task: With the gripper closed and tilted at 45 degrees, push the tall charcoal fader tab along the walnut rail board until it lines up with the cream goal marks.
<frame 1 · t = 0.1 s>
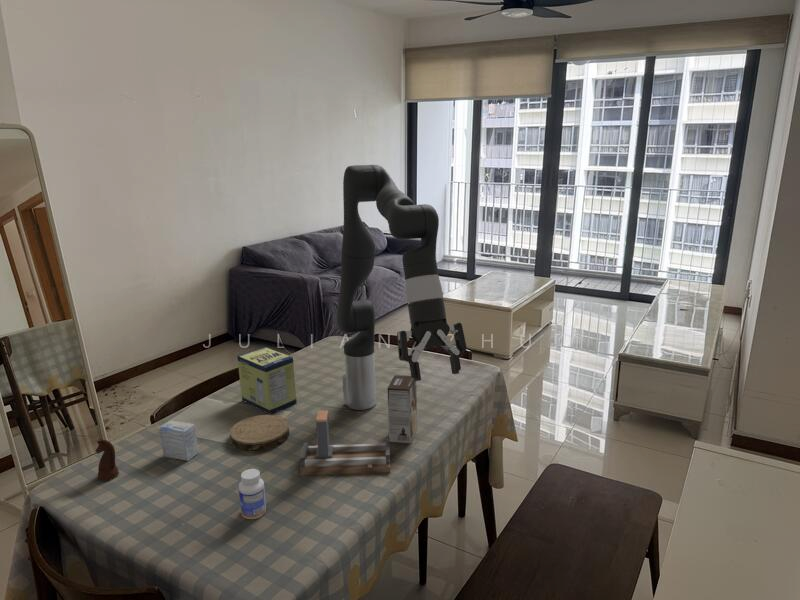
hand: (436, 377, 114), 31 cm above the table, tool tilted 20°, fingers open, 8 cm apart
coffee box: (403, 435, 154), on the table
chess piece: (109, 476, 137), on the table
protein box: (269, 402, 176), on the table
pill bottle: (254, 513, 123), on the table
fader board: (346, 462, 141), on the table
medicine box: (181, 456, 146), on the table
fader tab: (323, 436, 139), point 8 cm above the table, slide at -5.5 cm
brown round disc: (260, 438, 155), on the table
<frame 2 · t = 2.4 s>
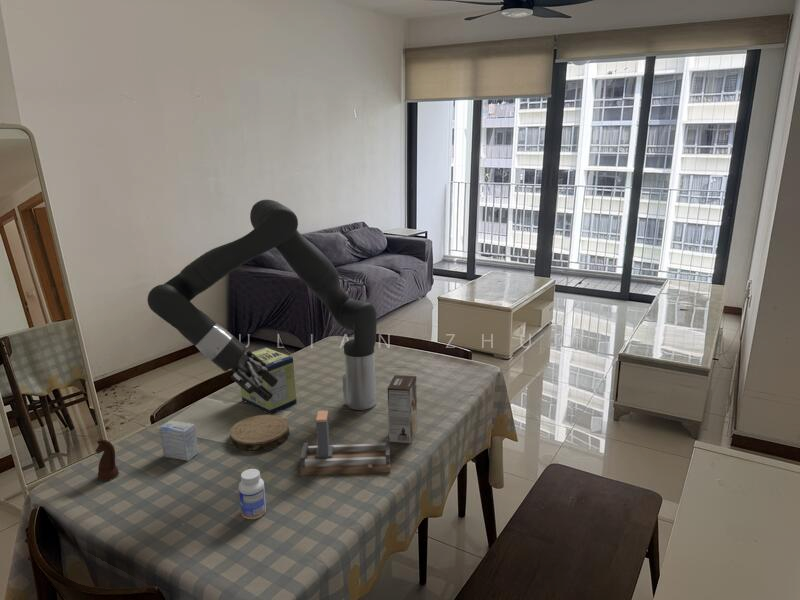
hand: (273, 390, 135), 21 cm above the table, tool tilted 45°, fingers open, 8 cm apart
nothing on the table moved.
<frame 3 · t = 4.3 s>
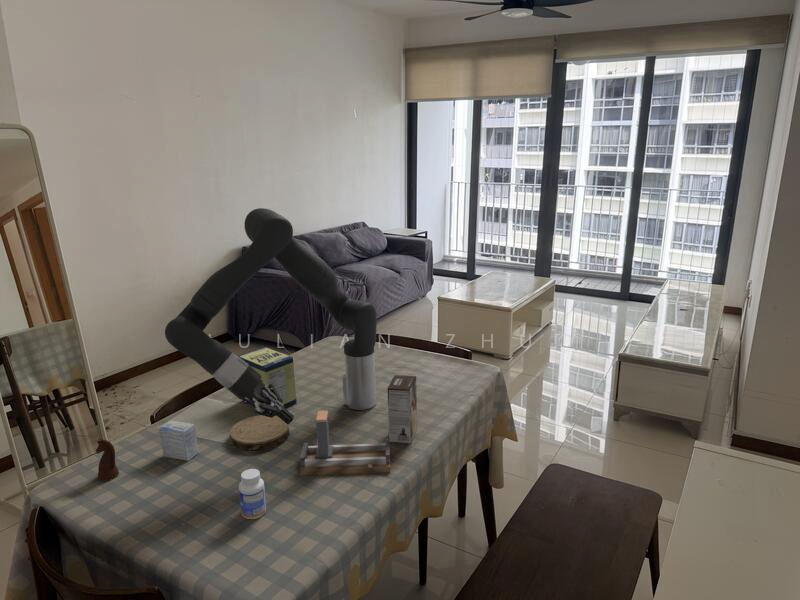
hand: (291, 420, 138), 12 cm above the table, tool tilted 45°, fingers closed
nothing on the table moved.
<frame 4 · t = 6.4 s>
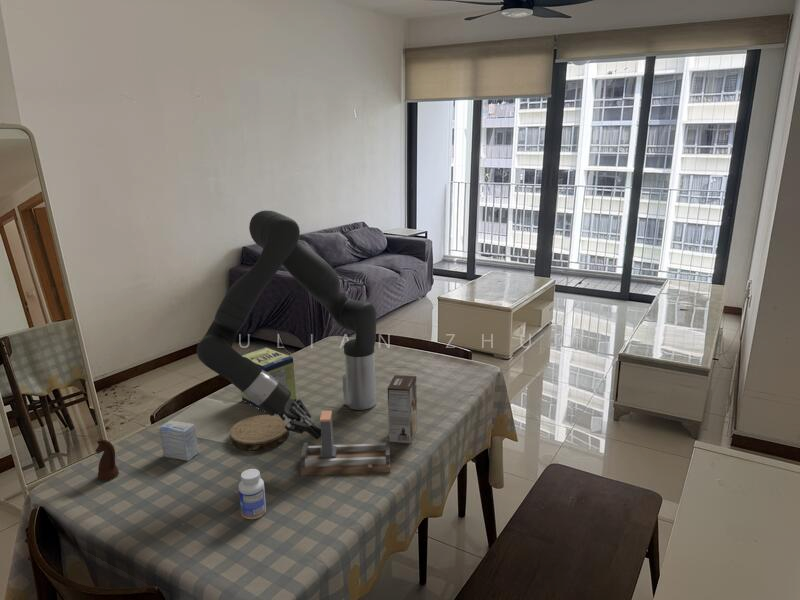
hand: (320, 435, 139), 8 cm above the table, tool tilted 45°, fingers closed
fader tab: (327, 436, 139), point 8 cm above the table, slide at -4.5 cm, touching gripper
everything else where it was.
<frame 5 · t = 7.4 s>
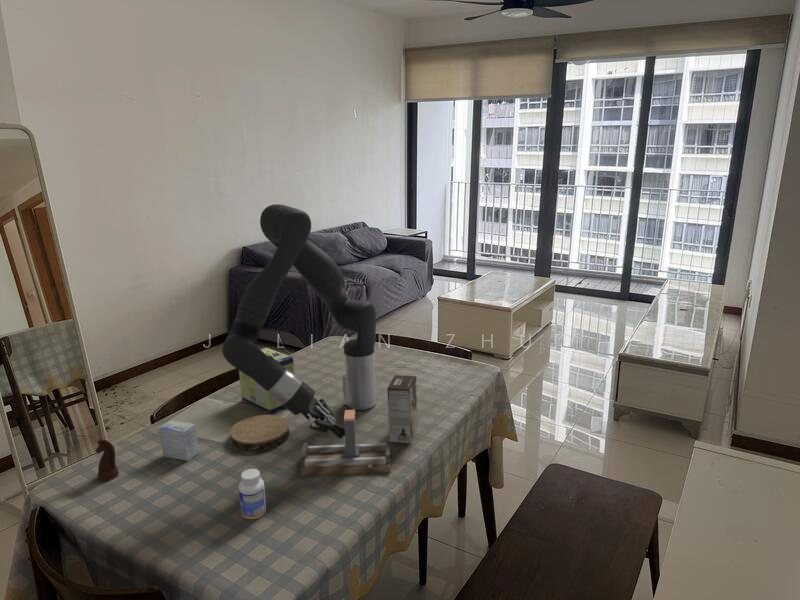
hand: (343, 434, 139), 8 cm above the table, tool tilted 45°, fingers closed
fader tab: (350, 435, 139), point 8 cm above the table, slide at 1.3 cm, touching gripper
everything else where it was.
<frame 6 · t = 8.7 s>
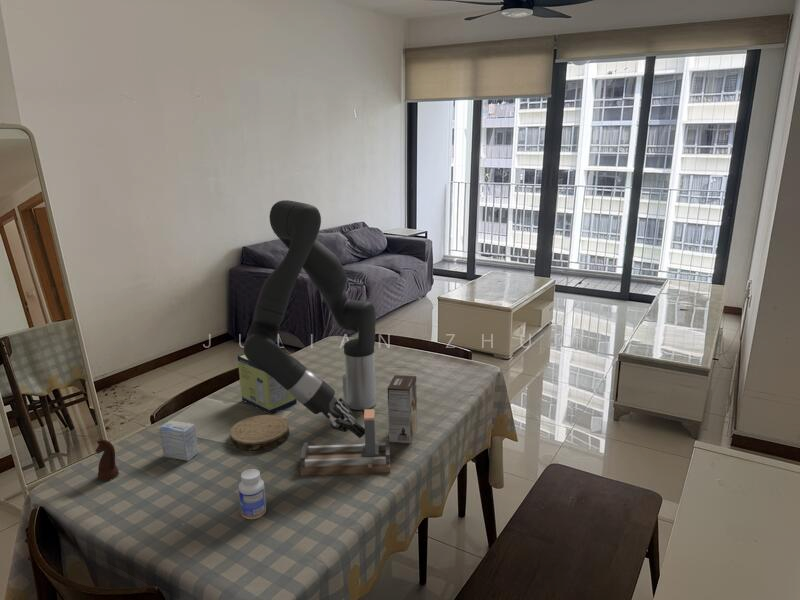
hand: (362, 434, 139), 8 cm above the table, tool tilted 45°, fingers closed
fader tab: (370, 434, 139), point 8 cm above the table, slide at 6.2 cm, touching gripper
everything else where it was.
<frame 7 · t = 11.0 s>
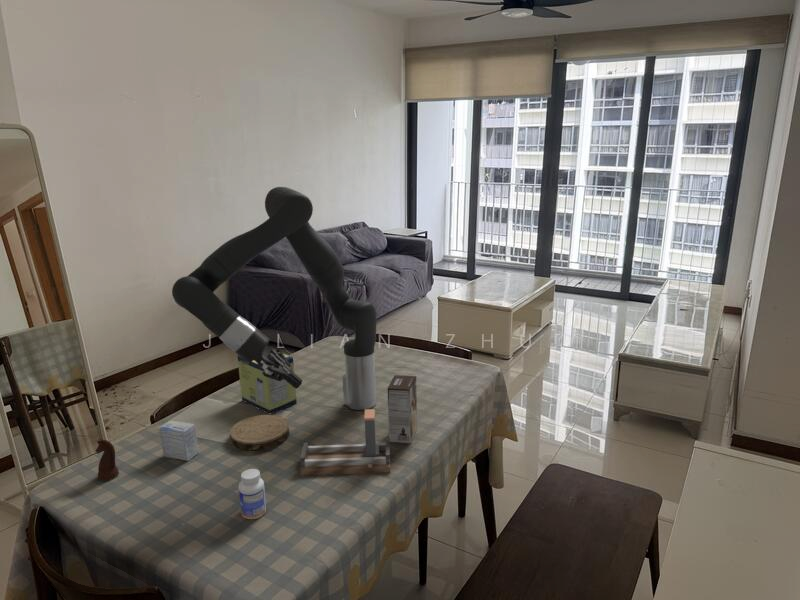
hand: (299, 384, 135), 22 cm above the table, tool tilted 45°, fingers closed
fader tab: (370, 434, 139), point 8 cm above the table, slide at 6.3 cm
everything else where it was.
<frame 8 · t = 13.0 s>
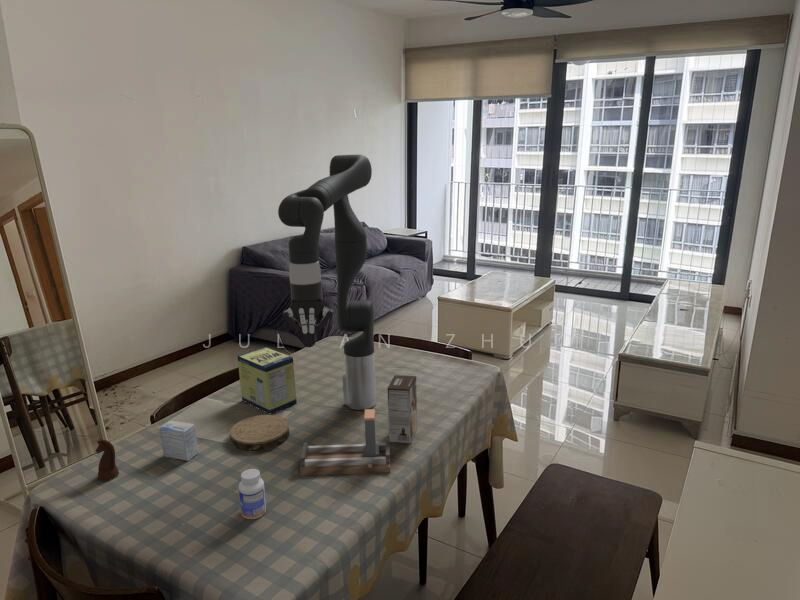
hand: (310, 346, 140), 29 cm above the table, tool pointing down, fingers closed
nothing on the table moved.
at the end: fader tab slide at 6.3 cm; coffee box moved 0.2 cm from its start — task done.
